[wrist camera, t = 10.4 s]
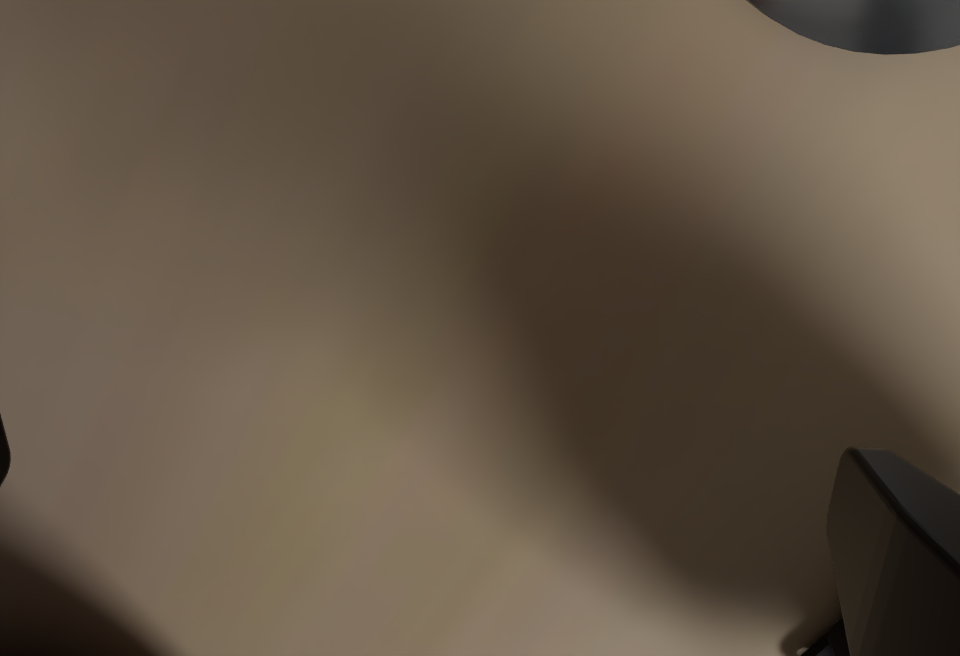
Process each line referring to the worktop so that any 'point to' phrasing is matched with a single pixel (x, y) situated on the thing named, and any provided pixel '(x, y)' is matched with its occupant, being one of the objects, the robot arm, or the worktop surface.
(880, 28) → the round metal saucer
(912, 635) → the robot arm
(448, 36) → the worktop surface
